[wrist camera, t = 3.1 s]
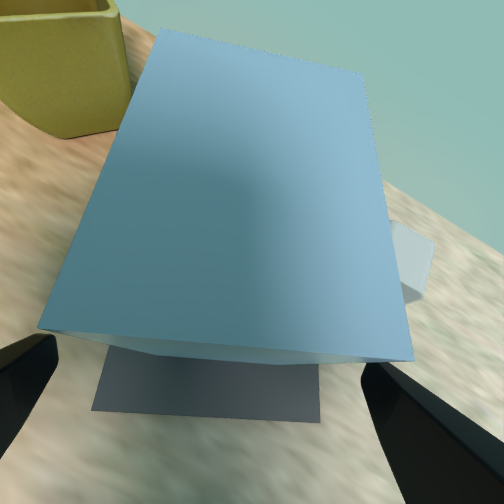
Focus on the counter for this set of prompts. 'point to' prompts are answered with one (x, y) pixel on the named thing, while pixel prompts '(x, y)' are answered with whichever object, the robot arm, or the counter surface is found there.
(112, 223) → the light blue rectangular block
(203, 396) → the mat
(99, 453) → the counter surface
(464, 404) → the counter surface
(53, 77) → the flower pot
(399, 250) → the usb wall charger
